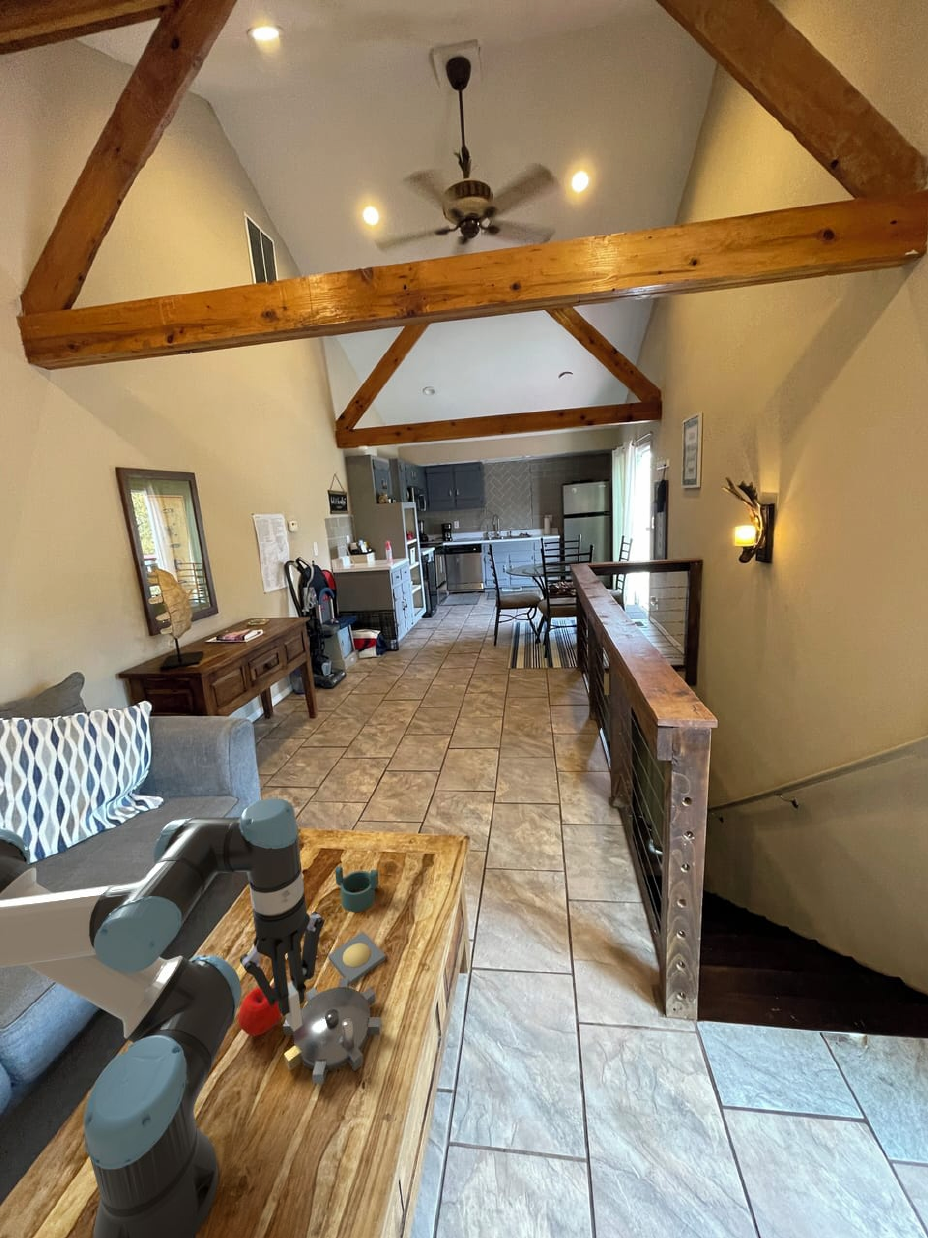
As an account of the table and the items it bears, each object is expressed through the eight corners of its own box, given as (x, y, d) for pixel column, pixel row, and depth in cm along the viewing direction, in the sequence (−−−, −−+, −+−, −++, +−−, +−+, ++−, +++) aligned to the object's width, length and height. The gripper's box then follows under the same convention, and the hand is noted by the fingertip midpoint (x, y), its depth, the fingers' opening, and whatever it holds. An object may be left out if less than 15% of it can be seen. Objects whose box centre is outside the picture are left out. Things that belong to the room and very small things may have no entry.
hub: (327, 1058, 91) (325, 1038, 90) (311, 1034, 96) (309, 1015, 95) (355, 1034, 95) (354, 1015, 94) (339, 1012, 100) (337, 994, 99)
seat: (350, 985, 105) (349, 981, 105) (328, 959, 111) (328, 954, 111) (385, 959, 111) (385, 955, 111) (363, 935, 117) (363, 931, 117)
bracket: (381, 903, 127) (379, 872, 125) (346, 918, 122) (343, 886, 121) (369, 881, 135) (367, 851, 133) (335, 895, 130) (332, 864, 128)
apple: (259, 1056, 92) (254, 1024, 90) (231, 1035, 96) (226, 1003, 94) (293, 1018, 99) (289, 987, 97) (266, 999, 103) (262, 969, 101)
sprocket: (311, 1109, 83) (307, 1076, 81) (266, 1029, 96) (262, 1000, 94) (400, 1030, 95) (398, 1000, 93) (349, 969, 108) (347, 942, 106)
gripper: (244, 939, 70) (264, 1071, 75) (329, 889, 79) (341, 1011, 84) (225, 909, 75) (244, 1034, 80) (307, 865, 84) (319, 981, 89)
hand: (294, 1022), depth 82 cm, fingers closed
